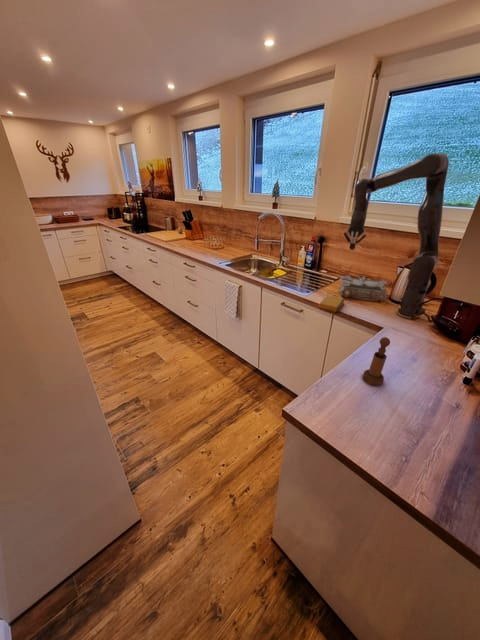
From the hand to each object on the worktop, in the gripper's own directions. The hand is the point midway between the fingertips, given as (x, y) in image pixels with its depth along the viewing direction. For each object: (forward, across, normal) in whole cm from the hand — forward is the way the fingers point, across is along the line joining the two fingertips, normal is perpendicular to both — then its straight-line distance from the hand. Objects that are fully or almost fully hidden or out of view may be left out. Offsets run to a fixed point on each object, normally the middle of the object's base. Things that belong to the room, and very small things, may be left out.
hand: (351, 249), depth 157 cm
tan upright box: (+26, 0, -19) cm, 32 cm away
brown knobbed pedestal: (+27, +30, -81) cm, 91 cm away
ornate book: (+27, +12, +2) cm, 30 cm away
